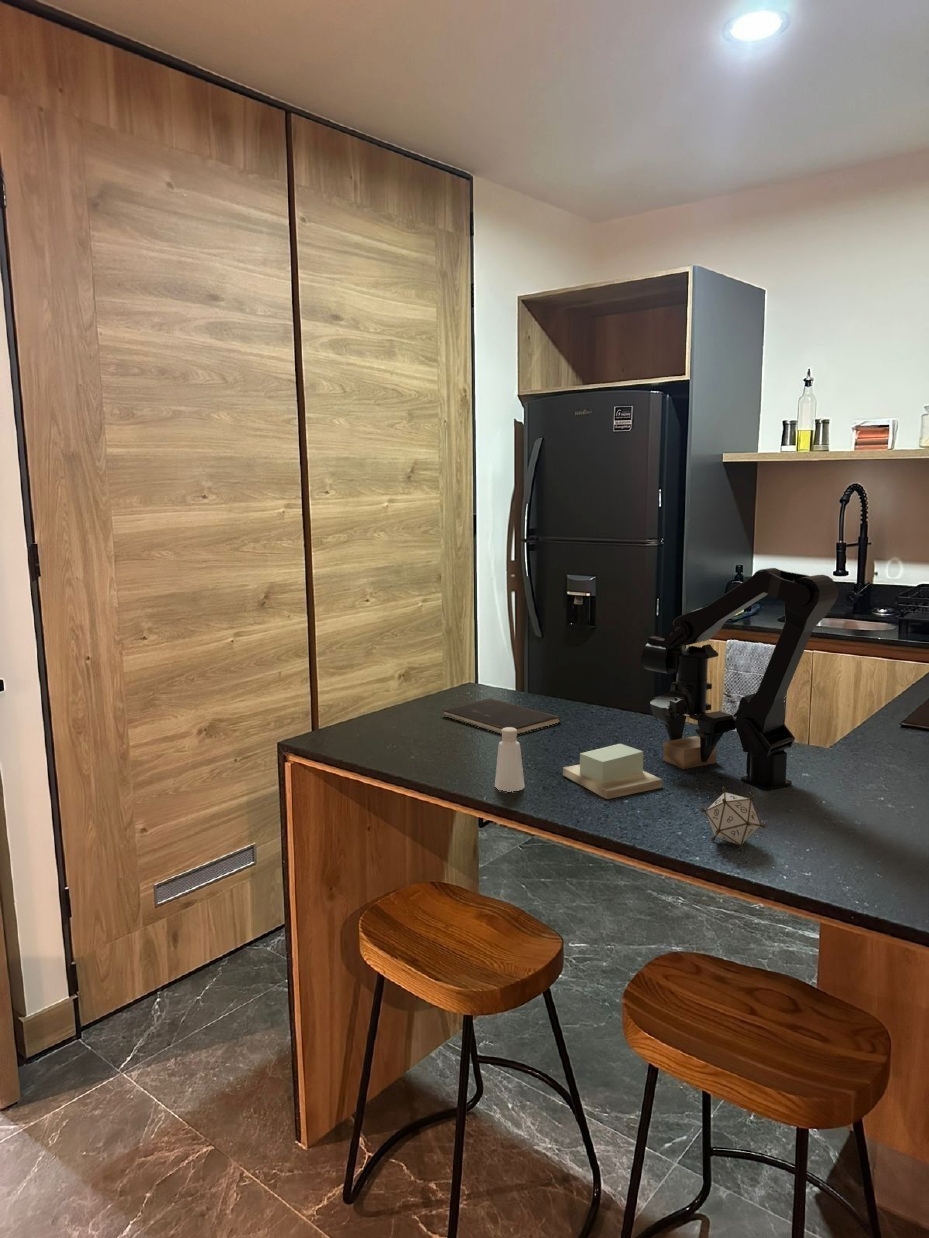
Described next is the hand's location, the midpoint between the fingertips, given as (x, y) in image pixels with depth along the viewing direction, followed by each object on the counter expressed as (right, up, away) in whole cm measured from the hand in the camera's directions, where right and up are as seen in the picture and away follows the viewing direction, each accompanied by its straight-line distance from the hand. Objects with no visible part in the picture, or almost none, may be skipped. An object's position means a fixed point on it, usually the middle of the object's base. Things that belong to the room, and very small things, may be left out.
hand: (689, 755), depth 170 cm
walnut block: (0, -1, 0) cm, 1 cm away
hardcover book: (-36, +3, +31) cm, 48 cm away
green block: (-17, -2, -11) cm, 20 cm away
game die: (-3, -8, -38) cm, 39 cm away
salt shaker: (-36, -4, -13) cm, 38 cm away
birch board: (-17, -3, -10) cm, 20 cm away
